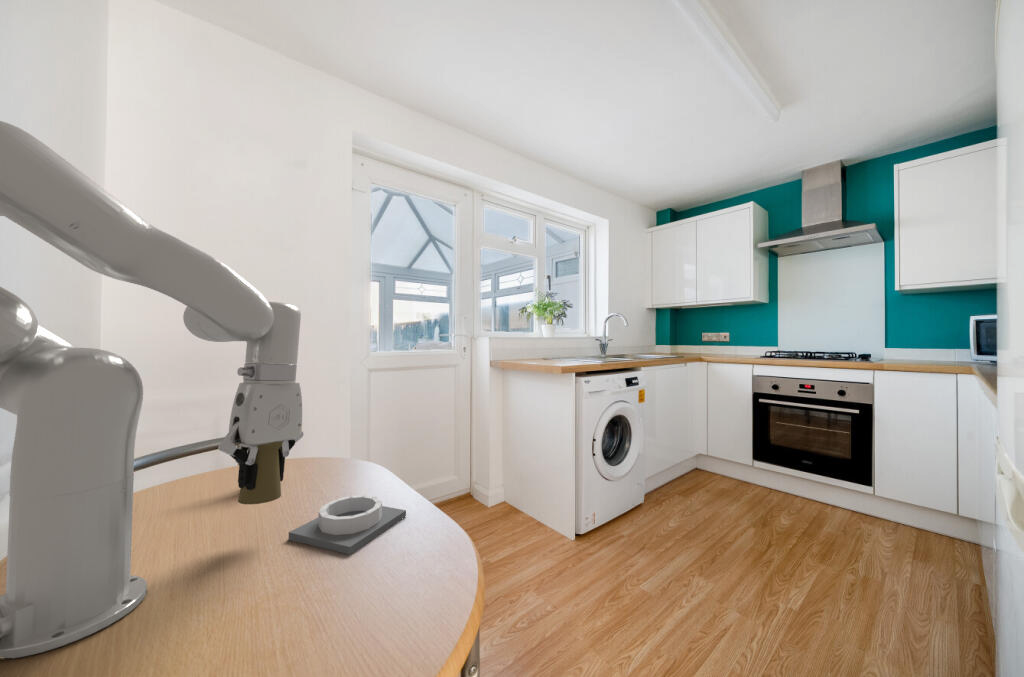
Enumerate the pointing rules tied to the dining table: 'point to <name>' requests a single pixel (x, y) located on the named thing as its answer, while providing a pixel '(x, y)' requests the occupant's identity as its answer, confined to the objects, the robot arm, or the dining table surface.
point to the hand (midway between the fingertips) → (261, 483)
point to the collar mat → (348, 539)
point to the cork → (264, 476)
